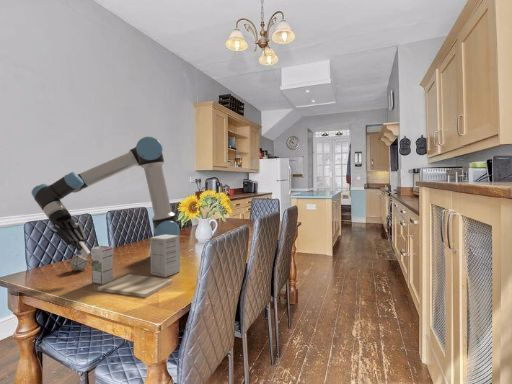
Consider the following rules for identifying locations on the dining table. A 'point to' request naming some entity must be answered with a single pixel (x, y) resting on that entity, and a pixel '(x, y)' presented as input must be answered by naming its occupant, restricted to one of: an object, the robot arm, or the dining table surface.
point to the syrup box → (102, 264)
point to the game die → (78, 262)
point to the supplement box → (165, 255)
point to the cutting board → (135, 285)
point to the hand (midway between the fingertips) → (87, 255)
